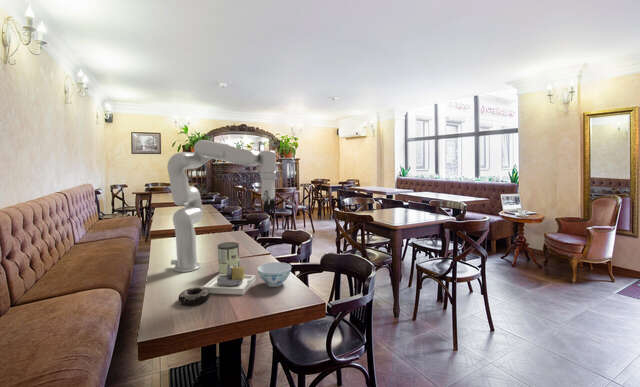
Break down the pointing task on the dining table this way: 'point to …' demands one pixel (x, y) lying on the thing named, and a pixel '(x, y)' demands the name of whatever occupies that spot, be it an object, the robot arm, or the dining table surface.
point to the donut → (193, 296)
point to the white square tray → (239, 289)
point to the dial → (231, 277)
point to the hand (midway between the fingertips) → (269, 210)
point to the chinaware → (274, 273)
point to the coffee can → (228, 256)
